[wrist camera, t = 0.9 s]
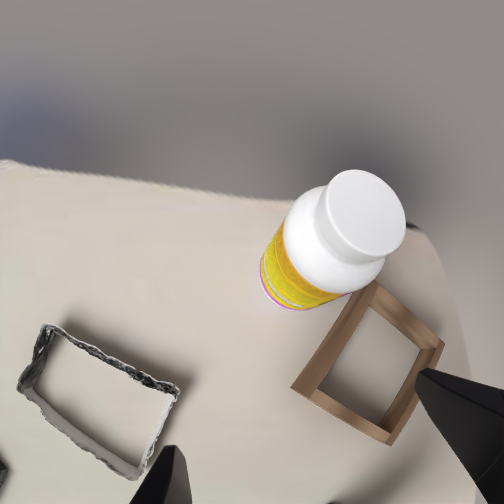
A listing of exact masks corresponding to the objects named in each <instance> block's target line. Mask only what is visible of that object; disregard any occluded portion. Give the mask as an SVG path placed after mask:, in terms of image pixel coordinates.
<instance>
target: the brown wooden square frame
mask: <svg viewBox="0 0 504 504" xmlns="http://www.w3.org/2000/svg"><path fill="white" fill-rule="evenodd" d="M369 305H370V306H371V307H372V308H373V309H374V310H376V311H377V312H378V313H379V314H380V315H382V316H383V317H384V318H385V319H386V320H388V321H389V322H390V323H391V324H392V325H394V326H395V327H396V328H397V329H398V330H399V331H401V332H402V333H403V334H404V335H405V336H407V337H408V338H409V339H410V340H411V341H412V342H414V343H415V344H416V345H417V346H418V347H419V348H420V349H421V350H420V352H419V354H418V357H417V359H416V361H415V363H414V365H413V367H412V369H411V371H410V373H409V375H408V377H407V378H406V380H405V382H404V384H403V386H402V388H401V389H400V391H399V393H398V395H397V397H396V398H395V400H394V402H393V403H392V405H391V407H390V408H389V410H388V412H387V413H386V415H385V416H384V418H383V420H382V421H381V423H380V424H379V426H376V425H374V424H373V423H371V422H369V421H368V420H366V419H364V418H363V417H361V416H359V415H358V414H356V413H354V412H353V411H351V410H350V409H348V408H346V407H345V406H343V405H342V404H340V403H338V402H337V401H335V400H334V399H332V398H331V397H329V396H328V395H326V394H325V393H323V392H321V391H320V390H318V389H317V387H318V386H319V384H320V383H321V381H322V380H323V379H324V377H325V376H326V374H327V373H328V371H329V370H330V368H331V367H332V365H333V364H334V362H335V361H336V359H337V358H338V356H339V354H340V353H341V351H342V350H343V348H344V347H345V345H346V343H347V342H348V340H349V338H350V337H351V335H352V334H353V332H354V330H355V328H356V327H357V325H358V323H359V322H360V320H361V318H362V316H363V315H364V313H365V311H366V309H367V307H368V306H369ZM444 346H445V343H444V342H443V341H442V340H441V339H440V338H438V337H437V336H436V335H435V334H434V333H433V332H432V331H431V330H430V329H429V328H428V327H427V326H426V325H425V324H423V323H422V322H421V321H420V320H419V319H418V318H417V317H416V316H415V315H414V314H412V313H411V312H410V311H409V310H408V309H407V308H406V307H405V306H404V305H402V304H401V303H400V302H399V301H398V300H397V299H396V298H395V297H393V296H392V295H391V294H390V293H389V292H388V291H386V290H385V289H384V288H383V287H382V286H381V285H380V284H378V283H377V282H376V281H375V280H373V281H371V282H370V283H369V284H368V285H366V286H365V287H363V288H361V289H359V290H356V291H354V292H353V294H352V296H351V297H350V299H349V301H348V303H347V304H346V306H345V307H344V309H343V311H342V312H341V314H340V316H339V317H338V319H337V320H336V322H335V324H334V325H333V327H332V328H331V330H330V331H329V333H328V334H327V336H326V338H325V339H324V341H323V342H322V344H321V345H320V347H319V348H318V350H317V351H316V352H315V354H314V355H313V357H312V358H311V360H310V361H309V363H308V364H307V365H306V367H305V368H304V370H303V371H302V372H301V374H300V375H299V377H298V378H297V379H296V381H295V382H294V383H293V385H292V386H291V387H290V388H292V389H293V390H295V391H296V392H298V393H299V394H301V395H302V396H304V397H305V398H307V399H308V400H310V401H312V402H313V403H315V404H316V405H318V406H319V407H321V408H323V409H324V410H326V411H327V412H329V413H331V414H332V415H334V416H336V417H337V418H339V419H341V420H342V421H344V422H346V423H347V424H349V425H351V426H353V427H354V428H356V429H358V430H360V431H361V432H363V433H365V434H367V435H369V436H370V437H372V438H374V439H376V440H378V441H380V442H382V443H385V444H387V445H389V446H392V444H393V443H394V441H395V440H396V438H397V437H398V435H399V434H400V432H401V431H402V429H403V427H404V426H405V424H406V422H407V421H408V419H409V417H410V416H411V414H412V412H413V410H414V409H415V407H416V405H417V403H418V401H419V397H418V395H417V394H416V392H415V389H414V384H415V380H416V376H417V373H418V371H420V370H422V369H424V368H426V367H427V368H431V369H435V367H436V365H437V362H438V360H439V358H440V356H441V353H442V351H443V348H444Z"/></svg>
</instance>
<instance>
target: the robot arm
mask: <svg viewBox="0 0 504 504" xmlns="http://www.w3.org/2000/svg"><path fill="white" fill-rule="evenodd" d="M414 389H415V392H416V394H417V395H418V397H419V399H420V401H421V402H422V404H423V406H424V408H425V410H426V411H427V413H428V415H429V417H430V418H431V420H432V421H433V423H434V424H435V425H436V427H437V428H438V430H439V431H440V432H441V434H442V435H443V437H444V438H445V439H446V441H447V442H448V444H449V445H450V447H451V448H452V449H453V451H454V452H455V454H456V455H457V457H458V458H459V460H460V461H461V463H462V464H463V465H464V467H465V468H466V470H467V471H468V473H469V474H470V476H471V477H472V479H473V481H474V482H475V484H476V485H477V487H478V488H479V490H480V491H481V493H482V495H483V496H484V498H485V499H486V501H487V503H488V504H504V390H502V389H500V390H499V389H498V388H495V387H491V386H488V385H484V384H481V383H477V382H474V381H470V380H467V379H463V378H460V377H457V376H453V375H450V374H447V373H444V372H441V371H437V370H434V369H431V368H427V367H426V368H424V369H422V370H420V371H418V373H417V376H416V380H415V384H414ZM129 504H192V495H191V489H190V484H189V478H188V472H187V465H186V460H185V457H184V455H183V454H182V452H181V451H180V450H179V448H178V447H177V446H176V445H166V446H164V447H163V449H162V450H161V452H160V454H159V456H158V457H157V459H156V461H155V462H154V464H153V466H152V467H151V469H150V471H149V472H148V474H147V476H146V477H145V479H144V480H143V482H142V484H141V485H140V487H139V489H138V490H137V492H136V494H135V495H134V497H133V498H132V500H131V502H130V503H129Z"/></svg>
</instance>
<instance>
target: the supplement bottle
mask: <svg viewBox="0 0 504 504" xmlns="http://www.w3.org/2000/svg"><path fill="white" fill-rule="evenodd" d="M405 230H406V220H405V214H404V210H403V207H402V205H401V203H400V201H399V199H398V197H397V196H396V194H395V193H394V191H393V190H392V189H391V188H390V187H389V186H388V185H387V184H386V183H385V182H384V181H383V180H381V179H380V178H378V177H377V176H375V175H373V174H370V173H368V172H366V171H362V170H347V171H344V172H341V173H339V174H338V175H336V176H335V177H334V178H333V179H332V180H331V181H330V183H329V184H328V185H327V186H321V187H316V188H313V189H311V190H309V191H307V192H306V193H304V194H303V195H301V196H300V197H299V198H298V199H297V200H296V201H295V202H294V204H293V205H292V207H291V208H290V210H289V212H288V213H287V215H286V217H285V219H284V220H283V222H282V224H281V225H280V227H279V229H278V230H277V232H276V234H275V235H274V237H273V238H272V240H271V242H270V243H269V245H268V247H267V248H266V250H265V252H264V253H263V255H262V257H261V260H260V264H259V280H260V283H261V286H262V288H263V290H264V292H265V294H266V295H267V296H268V298H269V299H270V300H271V301H272V302H274V303H275V304H276V305H278V306H280V307H282V308H284V309H287V310H291V311H304V310H308V309H311V308H314V307H317V306H319V305H322V304H324V303H327V302H329V301H332V300H335V299H337V298H339V297H342V296H344V295H347V294H349V293H352V292H354V291H356V290H359V289H361V288H363V287H365V286H366V285H368V284H369V283H370V282H371V281H373V280H374V279H375V278H376V276H377V275H378V274H379V272H380V271H381V269H382V267H383V265H384V262H385V259H386V256H387V255H389V254H391V253H392V252H394V251H395V250H396V249H397V248H398V247H399V246H400V244H401V243H402V241H403V238H404V235H405Z"/></svg>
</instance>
